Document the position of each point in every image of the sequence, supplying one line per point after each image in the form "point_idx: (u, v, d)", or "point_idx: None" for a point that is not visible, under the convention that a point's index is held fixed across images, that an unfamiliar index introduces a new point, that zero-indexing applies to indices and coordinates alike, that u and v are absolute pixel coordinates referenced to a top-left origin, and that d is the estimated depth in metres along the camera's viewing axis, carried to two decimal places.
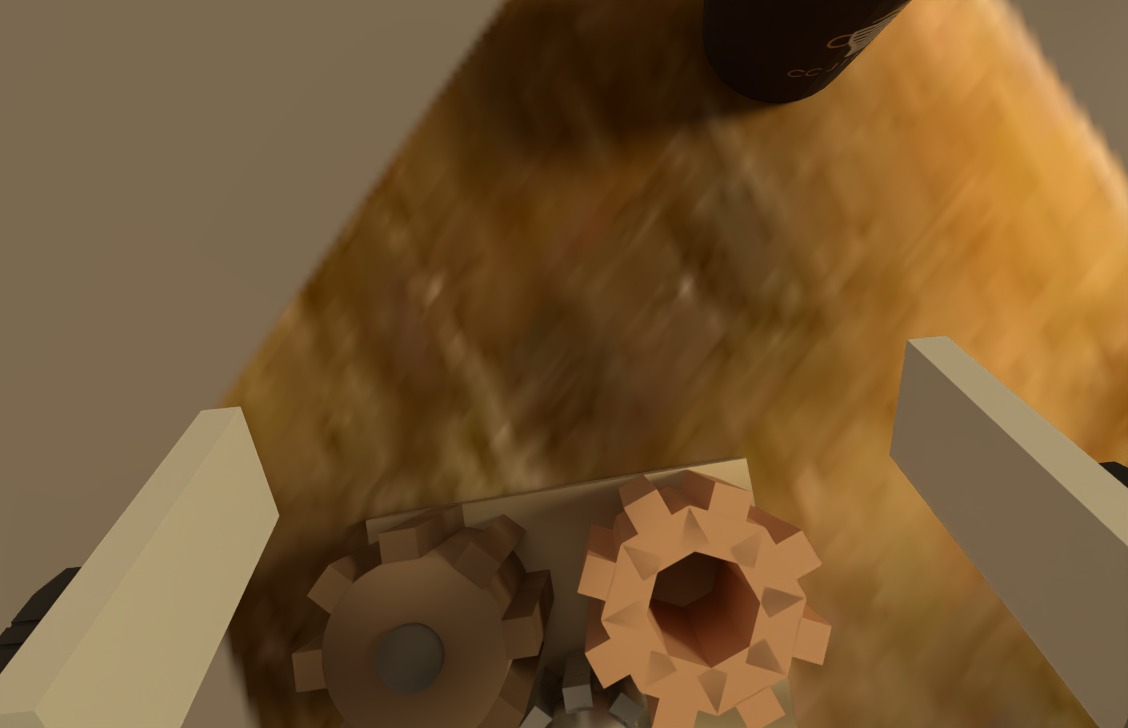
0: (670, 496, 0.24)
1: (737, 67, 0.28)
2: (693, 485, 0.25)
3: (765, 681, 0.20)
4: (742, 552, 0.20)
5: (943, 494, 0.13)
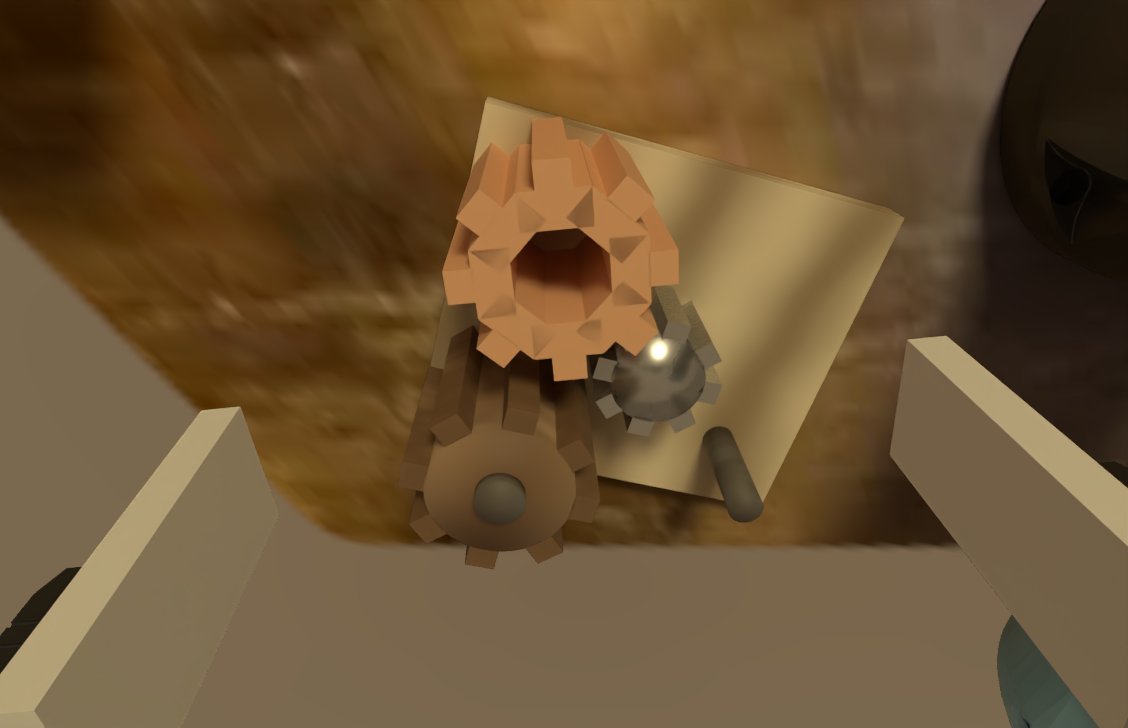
0: None
1: None
2: None
3: (644, 253, 0.21)
4: (528, 223, 0.21)
5: (943, 494, 0.13)
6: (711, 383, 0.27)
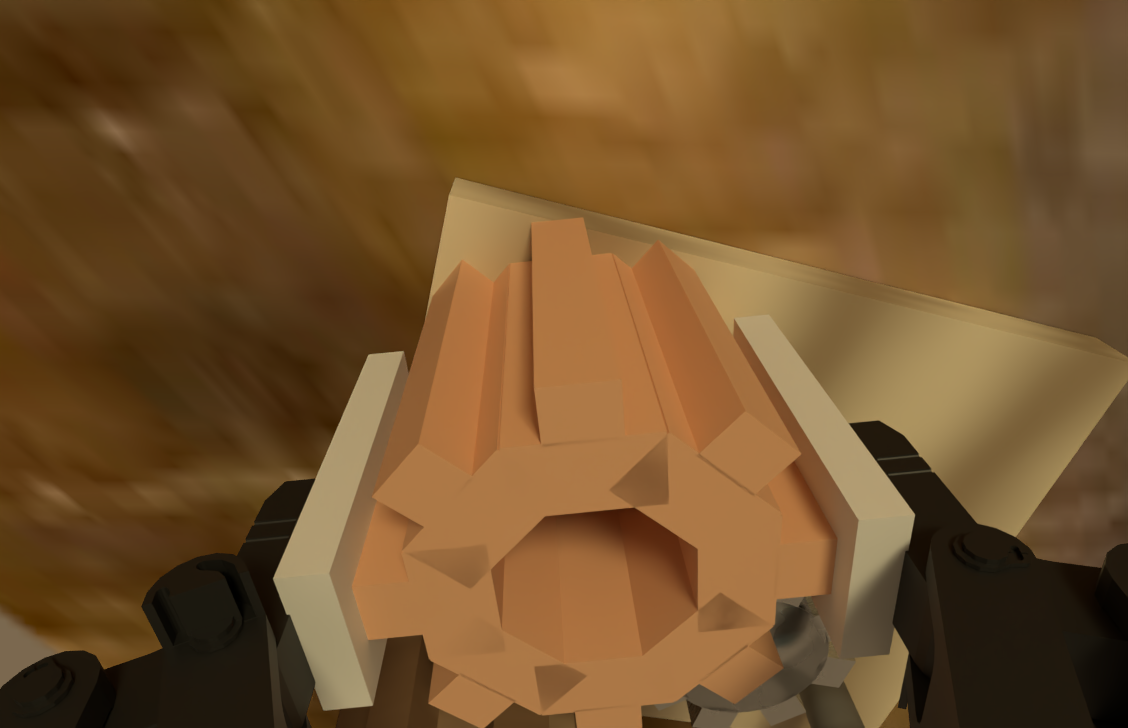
0: None
1: None
2: None
3: (768, 545, 0.10)
4: (527, 503, 0.10)
5: None
6: (837, 659, 0.16)
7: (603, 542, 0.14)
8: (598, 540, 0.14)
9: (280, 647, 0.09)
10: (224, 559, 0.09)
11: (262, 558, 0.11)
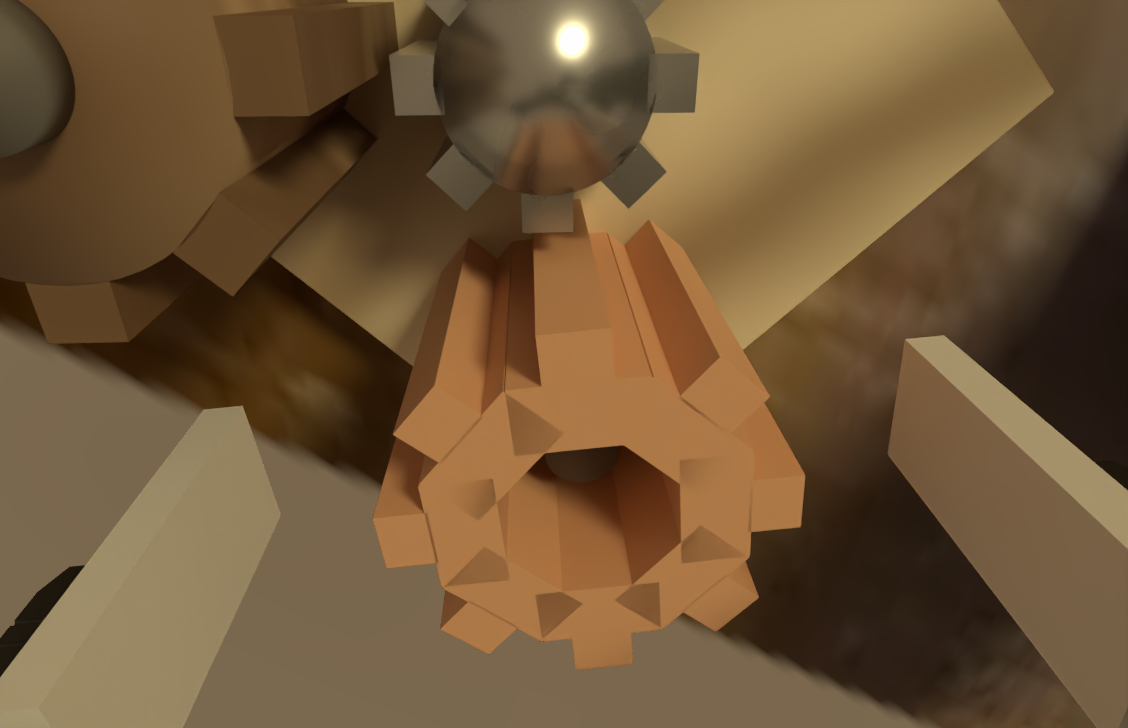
0: None
1: None
2: None
3: (742, 481, 0.12)
4: (529, 440, 0.11)
5: (940, 493, 0.13)
6: (648, 154, 0.12)
7: (598, 492, 0.15)
8: (593, 491, 0.15)
9: None
10: None
11: (3, 671, 0.09)
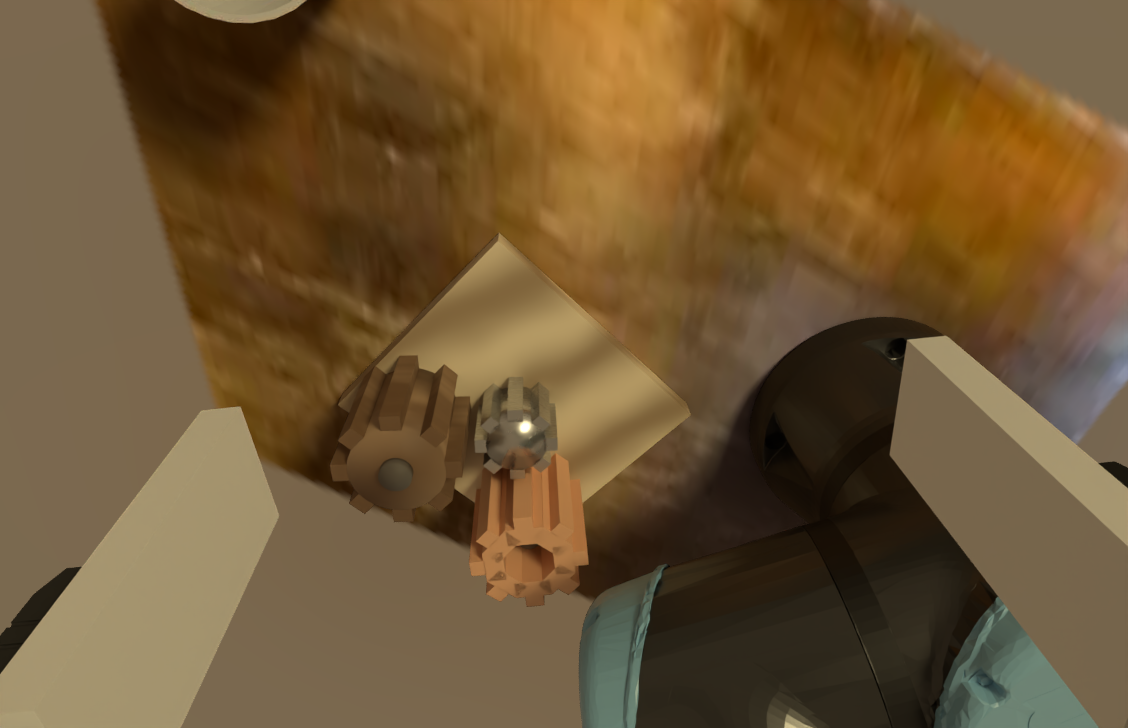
0: None
1: None
2: None
3: (570, 552, 0.43)
4: (511, 542, 0.42)
5: (943, 494, 0.13)
6: (545, 460, 0.43)
7: (535, 551, 0.46)
8: (534, 550, 0.46)
9: None
10: None
11: None
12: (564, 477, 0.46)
